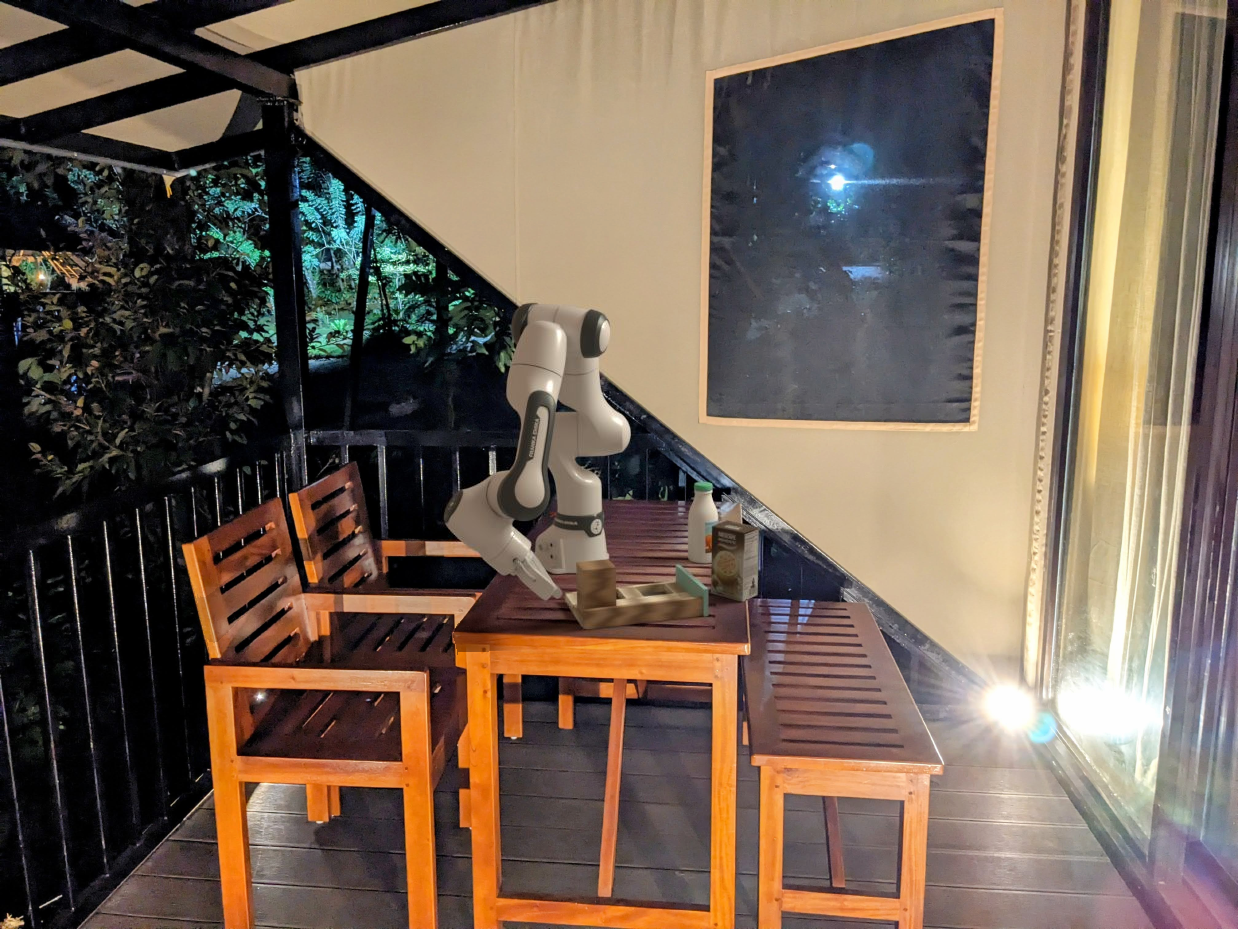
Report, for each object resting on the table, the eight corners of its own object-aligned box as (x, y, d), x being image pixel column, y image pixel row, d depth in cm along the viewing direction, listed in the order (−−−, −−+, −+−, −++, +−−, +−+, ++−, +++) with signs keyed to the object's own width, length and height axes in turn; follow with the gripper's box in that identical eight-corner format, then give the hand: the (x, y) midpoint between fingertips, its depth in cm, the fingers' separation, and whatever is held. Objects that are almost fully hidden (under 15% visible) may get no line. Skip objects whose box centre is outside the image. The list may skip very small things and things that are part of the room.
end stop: (703, 616, 192) (703, 589, 190) (675, 590, 209) (675, 565, 208) (708, 615, 192) (708, 588, 191) (679, 589, 209) (679, 564, 208)
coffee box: (709, 593, 206) (709, 525, 203) (725, 586, 210) (726, 519, 207) (743, 602, 200) (743, 532, 197) (759, 595, 204) (760, 526, 201)
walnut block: (583, 617, 187) (582, 570, 185) (577, 607, 193) (576, 562, 191) (616, 613, 189) (615, 567, 187) (609, 603, 194) (608, 559, 192)
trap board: (583, 629, 185) (583, 611, 184) (565, 601, 202) (564, 584, 202) (703, 615, 192) (703, 597, 191) (675, 589, 209) (675, 572, 208)
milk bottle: (694, 565, 227) (694, 487, 223) (683, 557, 234) (683, 481, 230) (723, 562, 229) (723, 485, 225) (711, 554, 236) (711, 479, 232)
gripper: (530, 555, 174) (580, 599, 178) (512, 529, 193) (559, 568, 197) (507, 580, 173) (559, 623, 178) (493, 551, 193) (539, 590, 197)
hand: (559, 594), depth 188 cm, fingers closed
